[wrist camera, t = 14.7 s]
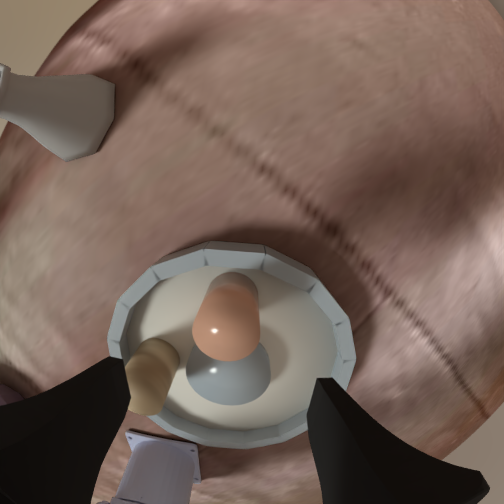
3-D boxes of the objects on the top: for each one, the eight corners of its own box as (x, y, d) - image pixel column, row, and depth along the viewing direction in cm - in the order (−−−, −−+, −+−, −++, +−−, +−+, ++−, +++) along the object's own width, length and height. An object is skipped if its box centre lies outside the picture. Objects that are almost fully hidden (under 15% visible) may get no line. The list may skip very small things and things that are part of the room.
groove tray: (319, 430, 23) (323, 448, 20) (137, 414, 22) (130, 431, 20) (365, 252, 19) (379, 262, 16) (113, 234, 18) (96, 240, 16)
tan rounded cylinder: (140, 369, 20) (118, 408, 15) (136, 334, 19) (109, 371, 14) (180, 377, 20) (165, 420, 15) (179, 341, 19) (160, 383, 14)
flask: (130, 74, 16) (53, 14, 6) (104, 167, 17) (2, 162, 8) (62, 77, 15) (-17, 43, 6) (39, 158, 17) (-52, 157, 7)
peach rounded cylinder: (256, 321, 19) (257, 363, 14) (206, 317, 19) (192, 357, 14) (260, 274, 18) (263, 305, 13) (207, 269, 18) (192, 299, 13)
